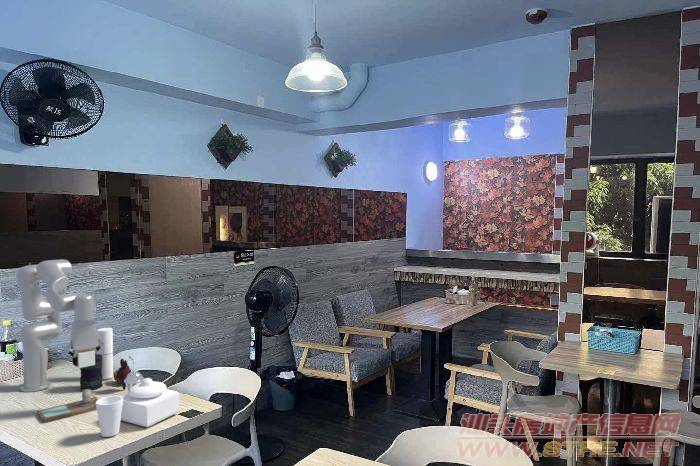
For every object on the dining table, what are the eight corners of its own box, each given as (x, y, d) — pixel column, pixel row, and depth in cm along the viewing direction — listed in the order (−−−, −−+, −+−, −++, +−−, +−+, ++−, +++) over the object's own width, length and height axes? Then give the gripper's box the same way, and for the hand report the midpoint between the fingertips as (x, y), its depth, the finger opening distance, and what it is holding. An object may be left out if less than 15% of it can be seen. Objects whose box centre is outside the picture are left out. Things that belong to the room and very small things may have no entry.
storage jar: (107, 386, 239) (106, 356, 238) (87, 392, 231) (86, 361, 230) (95, 382, 244) (95, 353, 244) (75, 388, 236) (75, 357, 235)
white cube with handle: (90, 361, 216) (89, 346, 216) (95, 364, 212) (94, 349, 212) (74, 364, 212) (74, 349, 212) (78, 368, 207) (78, 352, 207)
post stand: (36, 414, 205) (36, 397, 205) (95, 400, 221) (95, 383, 221) (44, 423, 196) (43, 405, 196) (104, 407, 213) (104, 390, 212)
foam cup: (102, 428, 193) (102, 395, 192) (126, 427, 193) (126, 395, 193) (92, 439, 183) (91, 405, 183) (117, 438, 184) (117, 404, 183)
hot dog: (122, 378, 251) (122, 368, 251) (131, 385, 241) (131, 375, 241) (112, 380, 248) (111, 370, 247) (120, 387, 238) (120, 377, 238)
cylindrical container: (106, 379, 248) (106, 331, 247) (94, 378, 249) (94, 330, 248) (116, 375, 255) (115, 328, 254) (104, 374, 256) (103, 327, 255)
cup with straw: (123, 406, 214) (122, 361, 213) (124, 399, 222) (124, 356, 222) (144, 404, 217) (143, 359, 216) (144, 396, 226) (144, 354, 225)
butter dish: (179, 411, 210) (179, 375, 209) (146, 427, 194) (145, 388, 193) (149, 404, 217) (149, 369, 217) (115, 419, 201) (114, 381, 200)
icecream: (134, 390, 234) (134, 359, 233) (118, 394, 229) (118, 362, 228) (129, 386, 239) (128, 356, 238) (113, 390, 234) (113, 359, 233)
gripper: (102, 319, 220) (102, 358, 221) (59, 324, 208) (59, 366, 208) (108, 321, 215) (108, 361, 215) (64, 328, 202) (64, 370, 203)
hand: (84, 363), depth 212 cm, fingers closed on white cube with handle, 6 cm apart
